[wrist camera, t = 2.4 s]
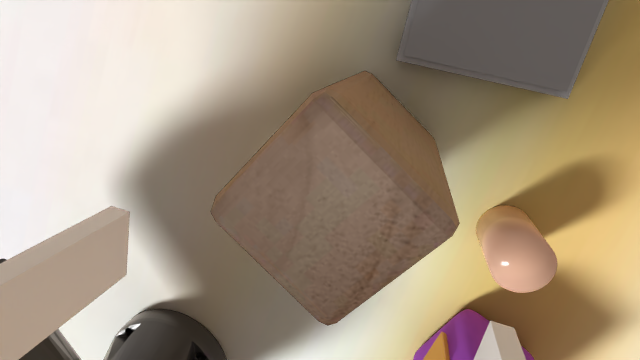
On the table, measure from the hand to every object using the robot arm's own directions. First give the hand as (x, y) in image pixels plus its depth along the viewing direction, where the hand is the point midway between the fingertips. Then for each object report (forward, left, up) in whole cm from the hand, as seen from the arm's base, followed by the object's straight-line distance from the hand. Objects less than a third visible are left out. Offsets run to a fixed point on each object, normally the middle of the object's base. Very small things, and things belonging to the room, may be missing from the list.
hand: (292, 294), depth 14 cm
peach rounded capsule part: (+15, -5, -27) cm, 31 cm away
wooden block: (0, 0, -27) cm, 27 cm away
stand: (+8, +15, -27) cm, 32 cm away
